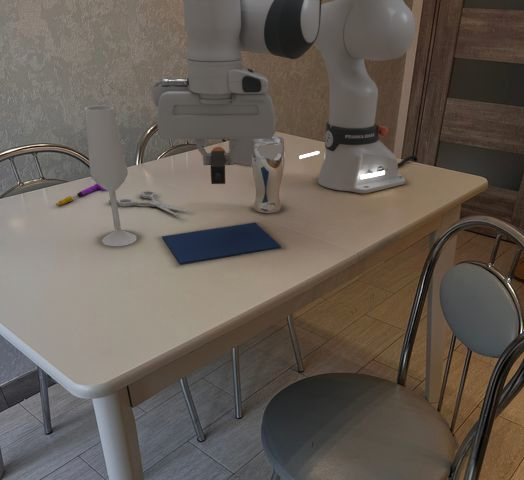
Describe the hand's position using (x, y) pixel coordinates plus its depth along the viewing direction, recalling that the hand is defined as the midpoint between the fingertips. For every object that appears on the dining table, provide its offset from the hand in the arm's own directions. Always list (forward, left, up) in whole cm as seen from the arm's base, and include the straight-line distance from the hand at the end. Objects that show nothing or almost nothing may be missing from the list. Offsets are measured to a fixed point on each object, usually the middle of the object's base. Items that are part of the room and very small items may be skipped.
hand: (218, 164), depth 95 cm
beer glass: (-16, -14, -15) cm, 26 cm away
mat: (0, 0, -15) cm, 15 cm away
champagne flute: (+18, -9, -15) cm, 25 cm away
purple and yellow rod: (+21, -37, -15) cm, 45 cm away
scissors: (+7, -24, -15) cm, 29 cm away
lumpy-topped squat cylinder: (-28, -53, -15) cm, 62 cm away
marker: (0, 0, -2) cm, 2 cm away
